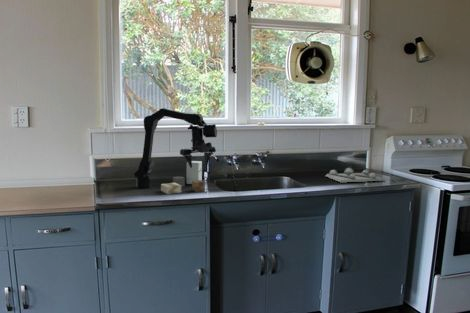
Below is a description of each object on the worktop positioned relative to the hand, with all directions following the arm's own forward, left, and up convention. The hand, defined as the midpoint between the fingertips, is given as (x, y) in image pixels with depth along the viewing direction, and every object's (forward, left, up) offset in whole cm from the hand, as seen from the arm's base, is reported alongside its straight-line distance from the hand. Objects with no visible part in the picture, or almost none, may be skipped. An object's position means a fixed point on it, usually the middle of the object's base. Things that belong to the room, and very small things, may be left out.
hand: (198, 166), depth 215 cm
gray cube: (-5, +15, -13) cm, 20 cm away
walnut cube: (0, 0, -13) cm, 13 cm away
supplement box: (+6, +18, -13) cm, 23 cm away
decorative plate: (+99, -18, -14) cm, 101 cm away
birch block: (-14, +4, -13) cm, 20 cm away
